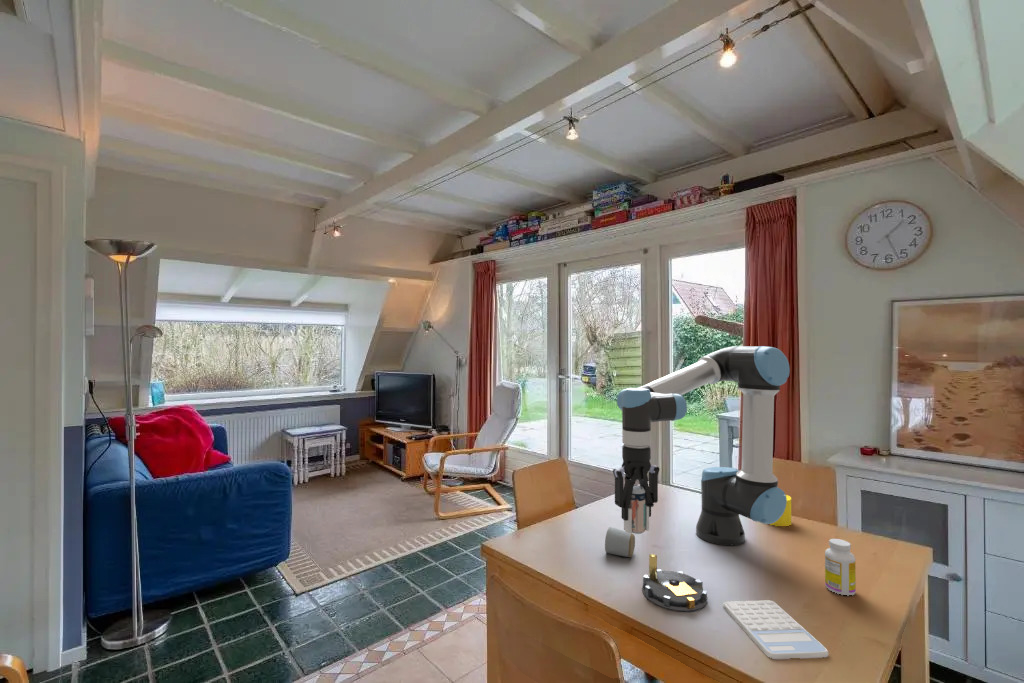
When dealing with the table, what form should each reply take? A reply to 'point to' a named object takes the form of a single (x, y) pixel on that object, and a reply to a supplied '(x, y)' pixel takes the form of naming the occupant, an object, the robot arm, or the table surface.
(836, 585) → the supplement bottle
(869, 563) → the table surface
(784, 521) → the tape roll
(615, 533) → the ceramic mug
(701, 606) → the hub plate
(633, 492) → the beer can
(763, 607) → the calculator
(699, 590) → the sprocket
